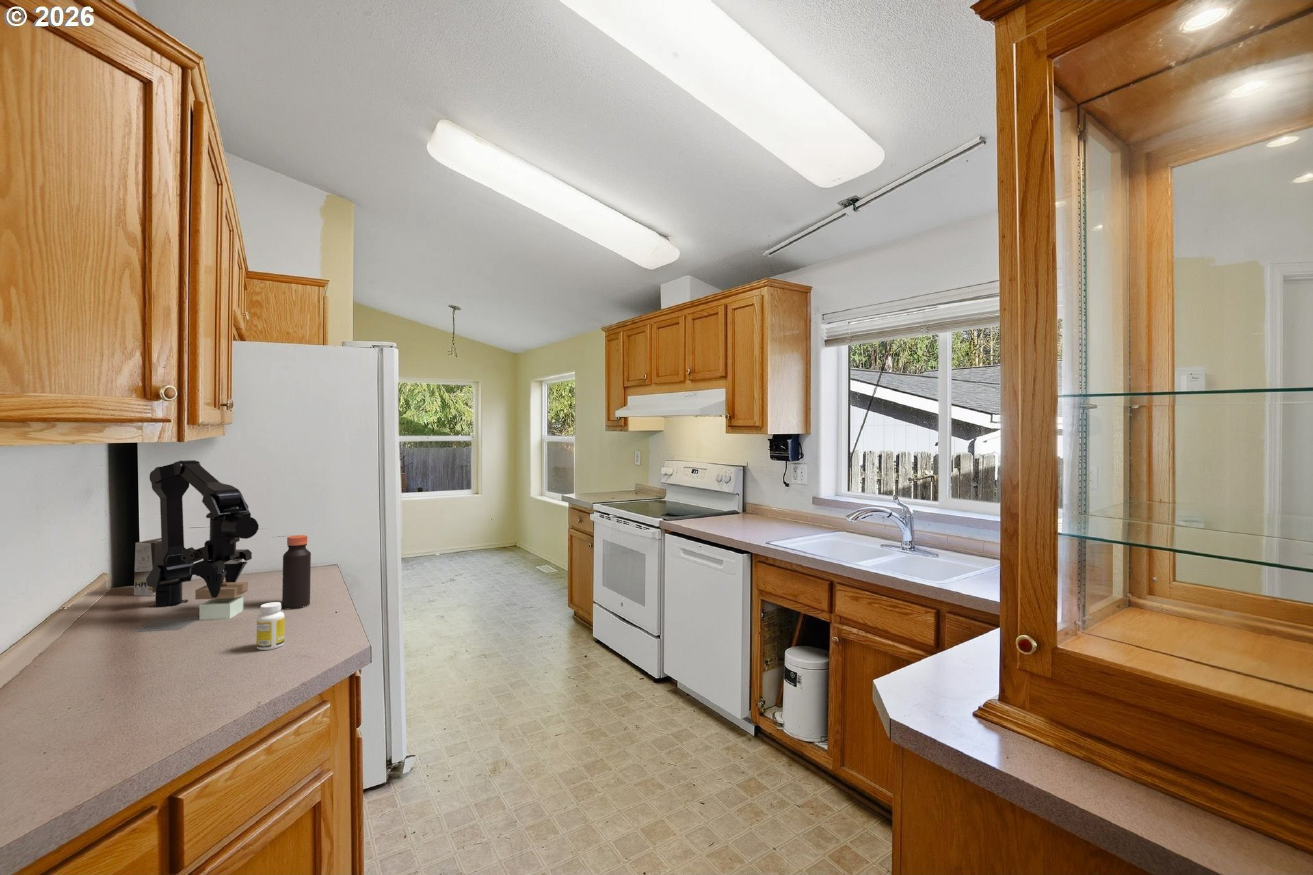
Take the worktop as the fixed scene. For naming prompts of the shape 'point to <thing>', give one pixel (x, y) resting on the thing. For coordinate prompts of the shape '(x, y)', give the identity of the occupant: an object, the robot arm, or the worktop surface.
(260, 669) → the worktop surface
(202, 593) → the cover
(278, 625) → the supplement bottle
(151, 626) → the mat
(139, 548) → the coffee box
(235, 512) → the robot arm
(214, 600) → the pale green box
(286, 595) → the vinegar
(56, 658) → the worktop surface
